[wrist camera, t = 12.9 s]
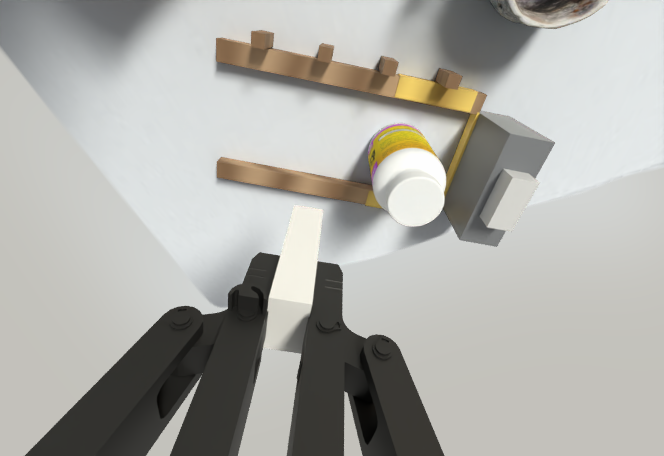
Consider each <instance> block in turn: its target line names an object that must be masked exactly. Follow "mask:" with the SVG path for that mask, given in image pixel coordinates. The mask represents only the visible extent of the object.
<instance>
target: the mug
mask: <svg viewBox="0 0 664 456" xmlns="http://www.w3.org/2000/svg"><path fill="white" fill-rule="evenodd" d="M490 1H491V3H492V5H493V7H494V8H495V9H496V11H497V12H498V13H499V14H500V15H501V16H503V17H504V18H506V19H508V20H510V21H512V22H516V23H521V24H525V25H526V26H532V27H538V28H548V29H557V28H561V27H564V26H567V25H570V24H573V23H576V22H578V21H581V20H583V19H585V18H587V17H589V16H591V15H592V14H594V13H595V12H597V11H598V10H599V9H601V8H602V7H603V6H604V5H605V4H606V3H607V2H608V0H490Z"/></svg>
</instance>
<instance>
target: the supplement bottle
mask: <svg viewBox="0 0 664 456" xmlns="http://www.w3.org/2000/svg"><path fill="white" fill-rule="evenodd" d="M368 160H369V167H370V173H371V180H372V186H373V192H374V195H375V198H376V200H377V202H378V203H379V205H380V206H381V207H382V208H383V209H384V210H386V211H387V212H389V214H390V215H391V217H392V218H393V219H394V220H395V221H396V222H398V223H399V224H402V225H404V226H409V227H417V226H422V225H425V224H427V223H429V222H431V221H432V220H434V219H435V218H436V217H437V216H438V215H439V214H440V212H441V210H442V208H443V206H444V200H445V198H444V191H445V187H446V173H445V170H444V167H443V165H442V164H441V162H440V160H439V159H438V157H437V156H436V154H435V153H434V151H433V150H432V148H431V147H430V145H429V143H428V142H427V140H426V139H425V137H424V136H423V134H422V133H421V132H420V131H419V130H418V129H417V128H415V127H414V126H412V125H409V124H406V123H394V124H390V125H387V126H385V127H384V128H382V129H381V130H379V131H378V132H377V133H376V134H375V135H374V137H373V138H372V140H371V142H370V144H369V148H368Z"/></svg>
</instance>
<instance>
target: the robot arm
mask: <svg viewBox="0 0 664 456" xmlns="http://www.w3.org/2000/svg"><path fill="white" fill-rule="evenodd" d="M322 218H323V210H321V209H316V208H310V207H305V206H299V205H294V208H293V212H292V215H291V219H290V223H289V226H288V230H287V233H286V237H285V241H284V244H283V248H282V251H281V255H280V256H278V255H272V254H266V253H261V252H260V253H258V254H257V255H256V256H255V257H254V258H253V259H252V261H251V263H250V266H249V269H248V271H247V273H246V276H245V279H244V281H243V284H240V285H237V286H235V287H234V288H232V289H231V291H230V292H229V293H228V309H227V310H225V311H222V312H219V313H214V314H205V315H202V314H201V312H200V311H199V310H198V309H196V308H194V307H190V306H181V307H176V308H174V309H171V310H169V311H168V312H167V313H165V314H164V315H163V316H162V317H161V318H160V319H159V320H158V321H157V322H156V323H155V324H154V325H153V326H152V327H151V328H150V329H149V330H148V331H147V332H146V333H145V334H144V335H143V336H142V337H141V338H140V339H139V340H138V341H137V342H136V343H135V344H134V345H133V346H132V348H130V349H129V350H128V351H127V353H126V354H124V356H123V357H122V358H121V359H120V360H119V361H118V362H117V363H116V364H115V365H114V366H113V367H112V368H111V369H110V370H109V371H108V372H107V373H106V374H105V375H104V376H103V377H102V378H101V379H100V380H99V381H98V382H97V383H96V384H95V385H94V386H93V387H92V388H91V389H90V390H89V391H88V392H87V393H86V394H85V395H84V396H83V397H82V398H81V399H80V400H79V401H78V402H77V403H76V404H75V405H74V406H73V407H72V408H71V409H70V410H69V411H68V412H67V414H65V415H64V416H63V417H62V418H61V419H60V421H58V423H56V425H54V427H53V428H52V429H51V430H50V431H49V432H48V433H47V434H46V435H45V436H44V437H43V438H42V439H41V440H40V441H39V442H38V443H37V444H36V445H35V446H34V447H33V448H32V449H31V450H30V451H29V452H28V453H27V454H26V455H25V456H146V455H147V453H148V451H149V450H150V449H151V447H152V446H153V444H154V443H155V442H156V440H157V439H158V437H159V436H160V434H161V433H162V431H163V430H164V429H165V427H166V426H167V424H168V423H169V421H170V420H171V419H172V417H173V416H174V414H175V413H176V411H177V410H178V409H179V407H180V406H181V404H182V403H183V401H184V400H185V398H186V397H187V396H188V394H189V393H190V391H191V390H192V388H193V387H194V385H195V384H196V383H197V381H198V380H199V378H200V377H201V375H202V377H201V379H200V382H199V384H198V387H197V389H196V392H195V394H194V397H193V399H192V402H191V404H190V407H189V409H188V412H187V414H186V417H185V419H184V422H183V424H182V427H181V429H180V432H179V435H178V437H177V439H176V442H175V444H174V447H173V449H172V452H171V454H170V456H238V451H239V448H240V444H241V440H242V436H243V432H244V428H245V423H246V419H247V415H248V411H249V407H250V403H251V399H252V395H253V391H254V387H255V383H256V379H257V374H258V370H259V366H260V362H261V354H262V350H263V348H267V349H274V350H281V351H288V352H294V353H301V361H300V365H299V369H298V374H297V386H296V393H295V400H294V407H293V414H292V422H291V429H290V436H289V443H288V451H287V456H344V391H345V392H347V393H348V397H349V401H350V405H351V409H352V413H353V418H354V422H355V426H356V429H357V434H358V438H359V442H360V447H361V451H362V455H363V456H444V454H443V451H442V449H441V447H440V444H439V442H438V440H437V437H436V435H435V432H434V430H433V428H432V425H431V423H430V421H429V418H428V416H427V413H426V411H425V409H424V406H423V404H422V401H421V399H420V397H419V394H418V392H417V389H416V387H415V385H414V382H413V380H412V377H411V375H410V373H409V370H408V368H407V366H406V363H405V361H404V359H403V356H402V354H401V351H400V349H399V347H398V346H397V344H396V343H395V342H394V341H393V340H391V339H390V338H388V337H386V336H384V335H372V336H369V337H368V338H367V339H366V338H363V337H361V336H359V335H357V334H355V333H353V332H352V331H351V330H349V329H348V328H347V326H346V325H345V324H344V322H343V318H342V289H343V288H342V285H343V283H342V282H343V273H342V271H341V269H340V267H339V265H337V264H331V263H325V262H319V261H317V260H318V252H319V243H320V235H321V226H322Z"/></svg>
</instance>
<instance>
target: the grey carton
mask: <svg viewBox="0 0 664 456" xmlns="http://www.w3.org/2000/svg"><path fill="white" fill-rule="evenodd" d="M554 144H555V142H553V141H551V140H550V139H548V138H546V137H544V136H543V135H541V134H539V133H537V132H536V131H534V130H532V129H531V128H529V127H527V126H525V125H524V124H522V123H520V122H518V121H517V120H515V119H513V118H511V117H509V116H504V115H499V114H494V113H489V112H485V111H480V113H478V112H477V114H476V115H475V114H470V117H469V119H468V122H467V124H466V127H465V129H464V132H463V134H462V137H461V139H460V142H459V144H458V147H457V149H456V152H455V154H454V157H453V159H452V162H451V164H450V167H449V169H448V172H447V174H446V187H445V191H444V198H445V200H444V206H443V209H444V211H445V213H446V215H447V217H448V219H449V221H450V223H451V224H452V226H453V228H454V230H455V232H456V234H457V236H458V238H459V239H460V240H463V241H468V242H474V243H479V244H485V245H491V246H496V247H497V246H498V244H499V242H500V240H501V239H502V237H503V235H504V233H505V231H511V232H512V231H513V229H514V227H515V225H516V223H517V222H518V220H519V218H520V216H521V215H522V213H523V211H524V210H525V208H526V206H527V204H528V203H529V201H530V199H531V197H532V196H533V194H534V192H535V190H536V189H537V187H538V185H539V182H538V181H537V180H536V179H535V178H536V176H537V174H538V173H539V171H540V169H541V167H542V165H543V164H544V162H545V160H546V158H547V157H548V155H549V153H550V151H551V149H552V148H553V146H554Z"/></svg>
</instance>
